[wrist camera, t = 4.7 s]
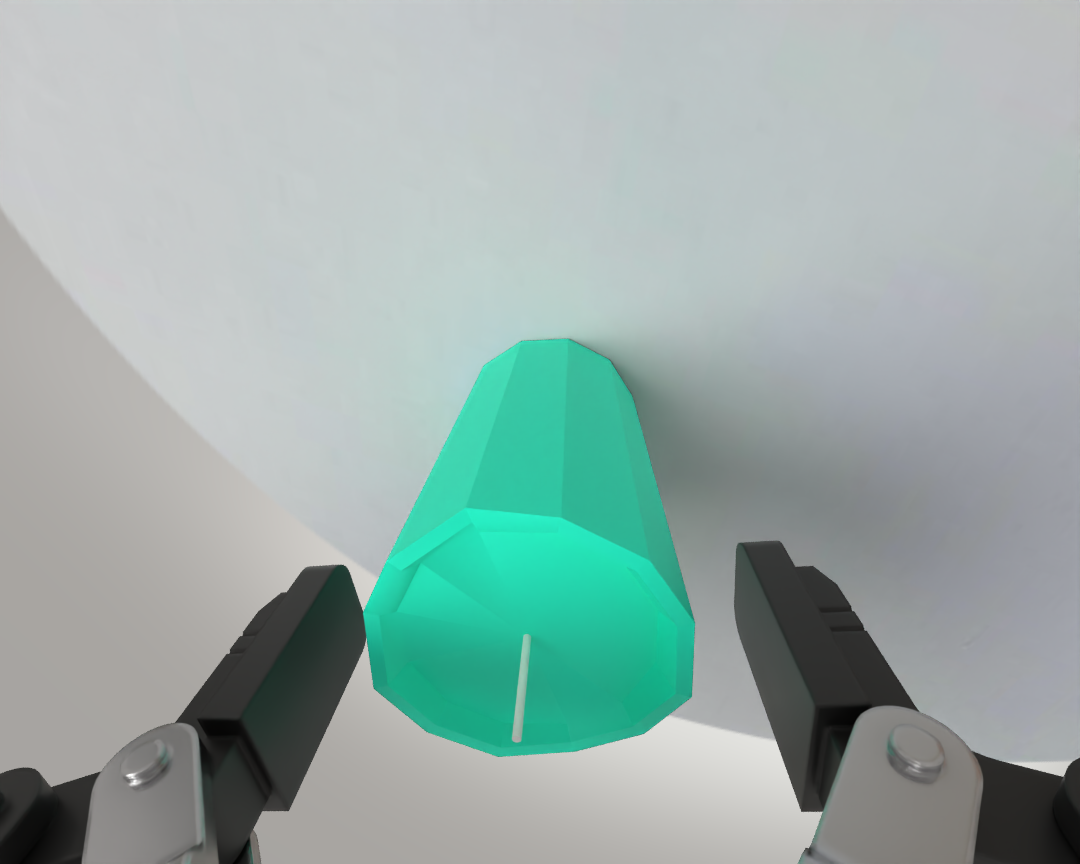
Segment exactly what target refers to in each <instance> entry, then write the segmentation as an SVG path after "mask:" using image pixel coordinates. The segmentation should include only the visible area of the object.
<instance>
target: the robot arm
mask: <svg viewBox="0 0 1080 864" xmlns="http://www.w3.org/2000/svg"><path fill="white" fill-rule="evenodd" d="M734 610H735V619H736V624H737V629H738V633H739V636H740V640H741V642H742V645H743V648H744V651H745V654H746V656H747V659H748V662H749V665H750V668H751V671H752V673H753V676H754V679H755V682H756V685H757V688H758V690H759V693H760V696H761V699H762V702H763V704H764V707H765V710H766V713H767V716H768V719H769V721H770V724H771V727H772V730H773V733H774V736H775V738H776V741H777V744H778V747H779V750H780V752H781V755H782V758H783V761H784V764H785V767H786V769H787V772H788V775H789V778H790V780H791V784H792V786H793V789H794V792H795V795H796V798H797V800H798V803H799V806H800V809H801V812H817V811H818V812H823V813H822V816H821V819H820V821H819V825H818V827H817V830H816V833H815V835H814V838H813V841H812V843H811V845H810V847H809V849H808V848H805V850H804V852H803V853H802V855H801V858H800V860H799V862H798V864H1080V758H1079V759H1077V760H1075V761H1073V762H1072V763H1071V764H1070V765H1069V766H1068V768H1067V770H1066V773H1065V775H1064V777H1061V776H1057V775H1053V774H1049V773H1046V772H1041V771H1038V770H1033V769H1030V768H1025V767H1022V766H1018V765H1014V764H1010V763H1006V762H1002V761H998V760H995V759H992V758H989V757H985V756H983V755H981V754H978V753H976V752H973V751H971V749H970V748H969V747H968V746H967V745H966V744H965V742H964V741H963V740H962V739H961V738H960V737H959V736H958V735H956V734H955V733H954V732H953V731H952V730H950V729H949V728H948V727H946V726H945V725H944V724H942V723H940V722H939V721H937V720H935V719H934V718H932V717H930V716H928V715H926V714H923V713H921V712H919V710H918V709H917V708H916V706H915V705H914V704H913V702H912V700H911V699H910V697H909V696H908V694H907V693H906V691H905V690H904V688H903V686H902V685H901V683H900V682H899V680H898V679H897V677H896V676H895V674H894V672H893V671H892V669H891V668H890V666H889V665H888V663H887V662H886V660H885V658H884V657H883V655H882V654H881V652H880V651H879V649H878V648H877V646H876V644H875V643H874V641H873V640H872V638H871V637H870V635H869V634H868V632H867V631H865V630H864V627H863V624H862V623H861V621H860V620H859V618H858V616H857V615H856V613H855V612H854V611H852V609H851V606H850V604H849V602H848V601H847V599H846V598H845V596H844V595H843V593H842V592H841V590H840V588H839V587H838V585H837V584H836V583H834V582H833V581H832V580H830V579H829V578H828V577H827V576H825V575H824V574H823V573H821V572H820V571H819V570H817V569H816V568H815V567H814V566H804V567H795V566H794V564H793V562H792V560H791V558H790V557H789V555H788V553H787V551H786V550H785V548H784V546H783V545H782V543H781V542H780V541H761V542H744V543H738V545H737V549H736V569H735V596H734ZM365 642H366V630H365V623H364V616H363V610H362V607H361V604H360V602H359V599H358V596H357V593H356V590H355V587H354V584H353V581H352V578H351V575H350V572H349V570H348V569H347V567H346V566H344V565H329V566H310V567H306V568H305V569H304V570H303V571H302V572H301V573H300V575H299V576H298V577H297V579H296V580H295V582H294V583H293V584H292V586H291V587H290V588H289V590H288V591H287V592H285V593H280V594H279V595H278V596H277V597H276V598H274V599H273V600H272V601H271V602H269V603H268V604H267V605H266V606H264V607H263V608H262V609H261V610H260V611H258V613H257V614H256V615H255V617H254V618H253V619H252V621H251V622H250V624H249V625H248V626H247V628H246V629H245V630H244V631H243V636H240V637H239V638H238V640H237V641H236V642H235V643H234V645H233V646H232V648H231V649H230V654H226V656H225V657H224V658H223V660H222V661H221V662H220V664H219V665H218V666H217V668H216V669H215V670H214V672H213V673H212V674H211V676H210V677H209V678H208V680H207V681H206V682H205V684H204V685H203V686H202V688H201V689H200V690H199V692H198V693H197V694H196V696H195V697H194V698H193V700H192V701H191V702H190V704H189V705H188V706H187V708H186V709H185V710H184V712H183V713H182V715H181V716H180V717H179V718H178V720H177V721H176V722H175V723H171V724H166V725H163V726H160V727H157V728H155V729H153V730H150V731H148V732H146V733H144V734H142V735H141V736H139V737H137V738H136V739H135V740H133V741H131V742H130V743H129V744H128V745H126V746H125V747H124V748H122V749H121V750H120V751H119V752H118V753H117V754H116V755H115V756H114V757H113V758H112V759H111V760H110V761H109V762H108V763H107V765H106V766H105V767H104V768H103V770H102V771H101V772H98V773H95V774H92V775H88V776H85V777H82V778H79V779H76V780H73V781H70V782H66V783H63V784H60V785H57V786H53V787H50V786H49V785H48V783H47V782H46V780H45V779H44V778H43V777H42V776H41V774H40V773H39V772H38V771H36V770H35V769H32V768H18V769H14V770H10V771H6V772H4V773H1V774H0V864H261V859H260V852H259V845H258V839H257V835H256V833H255V832H254V830H253V828H254V826H255V824H256V822H257V820H258V818H259V816H260V814H261V812H262V811H289V809H290V807H291V805H292V803H293V801H294V799H295V796H296V794H297V792H298V790H299V788H300V785H301V783H302V781H303V779H304V777H305V775H306V773H307V771H308V768H309V766H310V764H311V762H312V760H313V758H314V755H315V753H316V751H317V749H318V747H319V744H320V742H321V740H322V738H323V736H324V734H325V732H326V729H327V727H328V725H329V723H330V721H331V719H332V716H333V714H334V712H335V710H336V708H337V706H338V704H339V701H340V699H341V697H342V695H343V693H344V691H345V688H346V686H347V684H348V682H349V680H350V678H351V675H352V673H353V671H354V669H355V667H356V664H357V662H358V660H359V658H360V656H361V654H362V652H363V649H364V646H365Z"/></svg>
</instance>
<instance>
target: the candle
mask: <svg viewBox="0 0 1080 864" xmlns="http://www.w3.org/2000/svg"><path fill="white" fill-rule="evenodd" d="M363 616H364V623H365V630H366V637H367V644H368V651H369V658H370V665H371V673H372V680H373V687H374V689H375V690H376V691H377V692H378V693H380V694H381V695H382V696H383V697H385V698H386V699H387V700H388V701H390V702H391V703H392V704H393V705H394V706H396V707H397V708H398V709H399V710H400V711H402V712H403V713H404V714H405V715H407V716H408V717H409V718H410V719H412V720H413V721H414V722H415V723H416V724H418V725H419V726H420V727H421V728H422V729H424V730H425V731H426V732H428V733H431V734H434V735H437V736H440V737H442V738H445V739H448V740H451V741H454V742H457V743H460V744H463V745H466V746H469V747H471V748H474V749H477V750H480V751H483V752H486V753H489V754H492V755H495V756H498V757H503V756H518V755H532V754H547V753H560V752H575V751H579V750H583V749H587V748H591V747H595V746H598V745H603V744H606V743H610V742H614V741H618V740H622V739H626V738H630V737H634V736H638V735H641V734H644V733H646V732H647V731H648V730H650V729H651V728H652V727H653V726H655V725H656V724H657V723H659V722H660V721H661V720H663V719H664V718H665V717H666V716H668V715H669V714H670V713H672V712H673V711H674V710H676V709H677V708H678V707H679V706H681V705H682V704H683V703H685V702H686V701H687V700H689V699H690V698H691V697H692V682H693V658H694V634H695V621H694V618H693V614H692V610H691V607H690V603H689V599H688V596H687V592H686V589H685V585H684V581H683V578H682V574H681V570H680V567H679V563H678V560H677V556H676V552H675V549H674V545H673V541H672V538H671V534H670V531H669V527H668V523H667V520H666V516H665V512H664V509H663V505H662V502H661V498H660V494H659V491H658V487H657V483H656V480H655V476H654V473H653V469H652V465H651V462H650V458H649V454H648V451H647V447H646V444H645V440H644V436H643V433H642V429H641V425H640V422H639V418H638V414H637V411H636V407H635V404H634V400H633V396H632V395H631V393H630V392H629V390H628V388H627V387H626V385H625V384H624V382H623V380H622V379H621V377H620V376H619V374H618V372H617V371H616V369H615V368H614V366H613V365H612V363H611V361H610V360H609V359H607V358H605V357H603V356H601V355H599V354H597V353H595V352H593V351H591V350H589V349H587V348H585V347H583V346H581V345H579V344H578V343H576V342H574V341H572V340H570V339H553V340H533V341H521V342H519V343H518V344H516V345H515V346H513V347H512V348H510V349H508V350H507V351H505V352H504V353H502V354H501V355H499V356H498V357H496V358H494V359H493V360H491V361H490V362H488V363H487V364H485V365H484V366H483V368H482V370H481V372H480V374H479V377H478V379H477V381H476V383H475V385H474V387H473V389H472V391H471V393H470V395H469V397H468V399H467V401H466V403H465V405H464V407H463V409H462V411H461V413H460V415H459V417H458V419H457V421H456V423H455V425H454V427H453V429H452V431H451V433H450V435H449V437H448V439H447V441H446V443H445V445H444V447H443V449H442V451H441V453H440V455H439V457H438V459H437V461H436V463H435V465H434V467H433V469H432V471H431V473H430V475H429V477H428V479H427V481H426V483H425V485H424V487H423V489H422V491H421V493H420V495H419V497H418V499H417V501H416V503H415V505H414V507H413V509H412V511H411V513H410V515H409V517H408V519H407V521H406V523H405V525H404V527H403V529H402V531H401V533H400V535H399V537H398V539H397V541H396V543H395V545H394V547H393V549H392V551H391V553H390V555H389V557H388V559H387V561H386V563H385V566H384V568H383V570H382V572H381V574H380V576H379V579H378V581H377V583H376V585H375V587H374V590H373V592H372V594H371V596H370V599H369V601H368V603H367V605H366V607H365V609H364V611H363Z"/></svg>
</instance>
